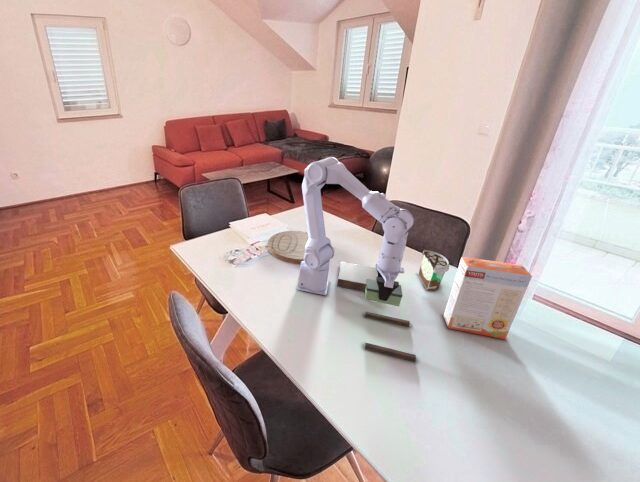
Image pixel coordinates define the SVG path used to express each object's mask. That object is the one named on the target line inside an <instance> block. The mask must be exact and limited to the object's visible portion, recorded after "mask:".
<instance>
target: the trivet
mask: <svg viewBox="0 0 640 482" xmlns="http://www.w3.org/2000/svg"><path fill="white" fill-rule="evenodd" d="M308 239H309V237H308V231H301V230H287V231H281V232H278V233H275V234H273V235H272V236H270V237H269V239H268V242H267V250H268V251H269V253H270V254H271V255H272V256H273V257H275V258H277V259H279V260H281V261H284V262H286V263H292V264H300V265H301V262H302V261H304V254H305V245H306V243H307V241H308ZM268 246H269V247H268ZM269 248H270V249H269Z"/></svg>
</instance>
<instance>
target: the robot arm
mask: <svg viewBox="0 0 640 482" xmlns="http://www.w3.org/2000/svg"><path fill="white" fill-rule="evenodd" d="M303 174H304V176H303V180H302V183H301V191H302V199H303V207H304V213H305V220H306V221H305V223H306V229H307V233H308V237H309V239H308V241H307V243H306V245H305V254H304V261H302V262H301V264H300V267H299V271H298V272H299V273H298V283H297V284H298V286H297V291H302V292H307V293H313V294H317V295H322V296H327V294H328V293H327V292H328V289H329V283H330V282H329V280H328V279H329V271H330V261H331V259H333V258H334V256H335V248H334V247H333V245H332V243H331V242H332V241H331V238H329V237H328V236H327V235H326V233H327V232H326V227H325V218H324V210H323V201H322V193H321V189H322V188H323V187H324V186H325V185H326V184H327V185H340V186H341V187H342V188H343V189H344V190H346V191H347V192H349V193H350V194H351V195H353V197H354V196H355V197H356V198H357V199H358V200H360V201H361V206H362V209H364V210H365V211H366V212H367V213H368V214H370V216H372V217H373V218H374V219H376V220H377V221H378V222H379V223H380V224H381V227H382V230H383V232H384V233H383V237H382V240H381V241H382V242H381V246H380V250H379V255H378V260H377V263H376V264H375V267H376V269H377V272H378V277H376V281H377V284H378V288H379V293H378V295H379V300H383V301H387V300H388V298H389V297H390V295H391V293H392V292H393V291H394V290H395V289H396V288H398V286H399V285H400V283H399V281H395V280H396V279H397V277H399V275H400V274H405V268H404V267H402V262H403V258H404V254H405V251H406V246H407V241H408V240H407V239H408V235H409V230H410V229H411V228H412V227H413V226H414V222H415V220H414V216H413V215H412V213H411V212H410V211H409V210H408V209H405V208H401V207H400V206H398V205H397V206H396V204H394V203H392V201H390V200H389V199H388V198H387V195H386V194H385V193H384V192H381V193H380V192H379V191H372V190H370V189H369V188H367V187H366V185H364V184H363V183H362V182H361V181H360V180H359V179H358V178H357V177H356V176H354V174H352V173H351V171H349V170H348V169H347V167H346V166H345V164H344V163H342V162H341V161H339V159H337V158H336V157H334V156H328V157H326V158H322V159H320V160H317V161H312V162H310V163H309V164H308V165H307V166H306V168H304V169H303Z"/></svg>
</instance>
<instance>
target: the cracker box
mask: <svg viewBox="0 0 640 482" xmlns="http://www.w3.org/2000/svg"><path fill="white" fill-rule="evenodd" d="M532 277H533V275H532V274H531V273H530V272H529V271H528V269H526V268H525V267H524V266H523V265H522V264H519V263H518V264H517V263H510V262H503V261H497V260H496V261H494V260H488V259H482V258H481V259H480V258H475V257H474V258H473V257H468V256H467V257H466V256H461V258H460V260H459V264H458V268H457V271H456V274H455V277H454V280H453V283H452V286H451V289H450V293H449V296H448V300H447V303H446V306H445V310H444V313H443V318H444V322H445V324H446V326H447V329H450V330H456V331H460V332H465V333H471V334H475V335H481V336H486V337H491V338H495V339H501V340H506V339H507V336H508V334H509V332H510V329H511V327H512V325H513V323H514V320H515V318H516V315H517V313H518V310H519V308H520V306H521V303H522V301H523V299H524V297H525V294H526V291H527V290H528V287H529V284H530V282H531V280H532Z"/></svg>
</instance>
